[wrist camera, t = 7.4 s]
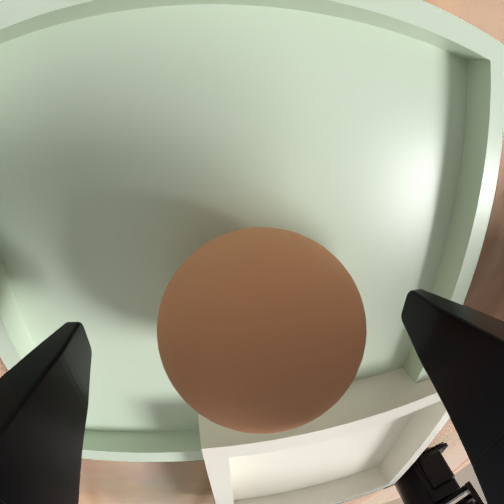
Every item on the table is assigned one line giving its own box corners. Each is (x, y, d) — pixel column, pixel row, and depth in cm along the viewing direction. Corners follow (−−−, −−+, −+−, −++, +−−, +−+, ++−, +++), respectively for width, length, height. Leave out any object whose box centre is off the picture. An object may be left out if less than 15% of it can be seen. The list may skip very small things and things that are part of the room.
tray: (394, 389, 16) (410, 413, 14) (74, 426, 13) (69, 456, 11) (467, 45, 8) (504, 44, 6) (-26, 38, 5) (-60, 32, 3)
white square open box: (381, 458, 21) (394, 483, 18) (217, 495, 19) (223, 527, 16) (448, 340, 15) (477, 373, 12) (195, 391, 13) (201, 448, 10)
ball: (311, 332, 11) (369, 442, 7) (172, 347, 10) (177, 478, 6) (328, 198, 9) (440, 284, 5) (152, 206, 8) (120, 321, 4)
